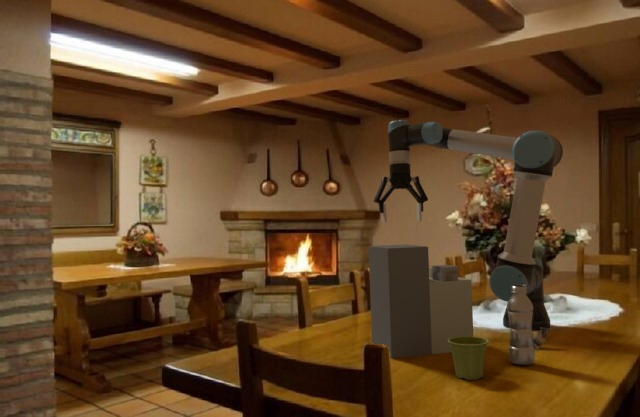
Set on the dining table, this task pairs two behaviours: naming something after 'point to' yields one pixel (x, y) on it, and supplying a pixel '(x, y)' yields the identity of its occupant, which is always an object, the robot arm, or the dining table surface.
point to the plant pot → (468, 356)
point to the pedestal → (415, 303)
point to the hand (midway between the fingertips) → (401, 221)
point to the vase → (539, 338)
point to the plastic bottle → (520, 327)
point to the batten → (443, 272)
